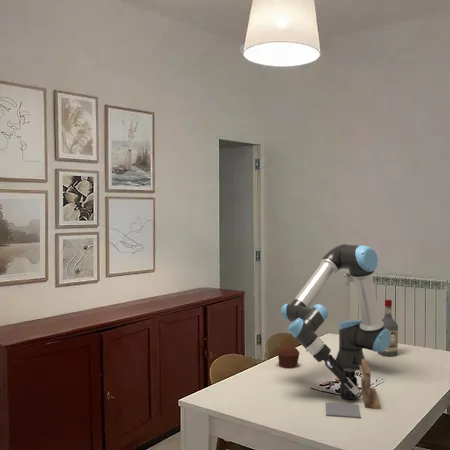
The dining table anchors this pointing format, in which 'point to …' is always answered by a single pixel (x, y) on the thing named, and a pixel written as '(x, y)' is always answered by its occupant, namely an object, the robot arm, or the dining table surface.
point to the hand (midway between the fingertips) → (357, 389)
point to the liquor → (393, 328)
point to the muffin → (288, 356)
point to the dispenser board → (368, 387)
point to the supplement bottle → (344, 390)
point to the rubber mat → (342, 410)
